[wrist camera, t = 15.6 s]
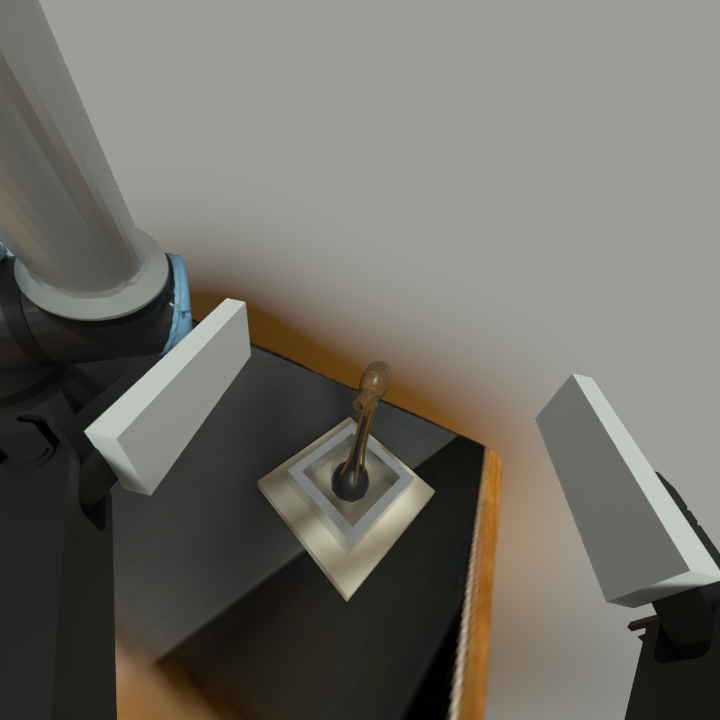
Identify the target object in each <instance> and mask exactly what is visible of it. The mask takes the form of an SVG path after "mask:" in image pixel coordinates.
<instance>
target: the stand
mask: <svg viewBox="0 0 720 720" xmlns="http://www.w3.org/2000/svg"><path fill="white" fill-rule="evenodd" d="M351 423H353V424H354V425H355V426H356V427H357V426H358V424H357V423H356V422H355V421H354V420H353V419H352V418H350V417H349V418H347V419H346V420H344V421H343V422H342V423H340V424H339V425H337V426H336V427H334V428H333V429H332V430H330V431H329V432H327V433H326V434H324V435H323V436H322V437H320V438H319V439H317V440H316V441H314V442H313V443H312V444H310V445H309V446H307V447H306V448H304V449H303V450H302V451H300V452H299V453H297V454H296V455H294V456H293V457H292V458H290V459H289V460H287V461H286V462H285V463H283V464H282V465H280V466H279V467H277V468H276V469H275V470H273V471H272V472H270V473H269V474H267V475H266V476H265V477H263V478H262V479H260V480H259V481H257V482H258V488H259V489H260V491H261V492H262V493H263V495H264V496H265V497H266V498H267V500H268V501H269V502H270V504H271V505H272V506H273V507H274V509H275V510H276V511H277V513H278V514H279V515H280V516H281V518H282V519H283V520H284V522H285V523H286V524H287V525H288V527H289V528H290V529H291V531H292V532H293V533H294V534H295V536H296V537H297V538H298V540H299V541H300V542H301V544H302V545H303V546H304V547H305V549H306V550H307V551H308V553H309V554H310V555H311V556H312V558H313V559H314V560H315V562H316V563H317V564H318V565H319V567H320V568H321V569H322V571H323V572H324V573H325V574H326V576H327V577H328V578H329V580H330V581H331V582H332V583H333V585H334V586H335V587H336V589H337V590H338V591H339V592H340V594H341V595H342V596H343V598H344V599H345V600H346V601H348V600H349V598H350V597H351V596H352V595H353V594H354V592H355V591H356V590H357V589H358V587H359V586H360V585H361V584H362V582H363V581H364V580H365V579H366V577H367V576H368V575H369V574H370V573H371V571H372V570H373V569H374V568H375V566H376V565H377V564H378V563H379V561H380V560H381V559H382V558H383V556H384V555H385V554H386V553H387V552H388V550H389V549H390V548H391V547H392V545H393V544H394V543H395V542H396V540H397V539H398V538H399V537H400V535H401V534H402V533H403V532H404V531H405V529H406V528H407V527H408V526H409V524H410V523H411V522H412V521H413V519H414V518H415V517H416V516H417V514H418V513H419V512H420V511H421V510H422V508H423V507H424V506H425V505H426V503H427V502H428V501H429V500H430V498H431V497H432V496H433V494H434V492H435V491H434V490H433V489H432V488H431V487H430V486H429V485H427V484H426V483H425V482H424V481H423V480H422V479H421V478H419V477H418V476H417V475H416V474H415V473H414V472H413V471H411V470H410V469H409V468H408V467H407V466H406V465H404V464H403V463H402V462H401V461H400V460H399V459H398V458H396V457H395V456H394V455H393V454H392V453H391V452H390V451H388V450H387V449H386V448H385V447H384V446H383V445H381V444H380V443H379V442H378V441H377V440H376V439H375V438H373V437H372V436H371V435H370V434H369V438H370V439H371V440H372V441H373V442H374V443H376V444H377V445H378V446H379V447H380V448H381V449H382V450H384V451H385V452H386V453H387V454H388V455H389V456H390V457H392V458H393V459H394V460H395V461H396V462H397V463H398V464H400V465H401V466H402V467H403V468H404V469H405V470H406V471H407V472H409V473H410V474H411V475H412V476H413V477H414V480H413V482H412V484H411V486H410V488H409V490H408V491H407V492H406V493H405V494H404V495H403V496H402V497H401V499H400V500H399V501H398V502H397V503H396V504H395V505H394V506H393V507H392V508H391V510H390V511H389V512H388V513H387V514H386V515H385V516H384V517H383V518H382V520H381V521H380V522H379V523H378V524H377V525H376V526H375V527H374V528H373V530H372V531H371V532H370V533H369V534H368V535H367V536H366V537H365V538H364V540H363V541H362V542H361V543H360V544H359V545H358V546H357V547H356V548H355V549H354V551H353V552H352V553H351V554H350V555H348V554H347V553H346V552H345V551H344V549H343V548H342V547H341V546H340V545H339V544H338V542H337V541H336V540H335V539H334V538H333V536H332V535H331V534H330V533H329V532H328V531H327V529H326V528H325V527H324V526H323V525H322V523H321V522H320V521H319V520H318V519H317V518H316V516H315V515H314V514H313V513H312V512H311V510H310V509H309V508H308V507H307V506H306V505H305V503H304V502H303V501H302V500H301V499H300V498H299V496H298V495H297V494H296V493H295V492H294V490H293V489H292V488H291V487H290V486H289V485H288V483H287V470H288V469H289V468H291V467H292V466H294V465H295V464H296V463H298V462H299V461H301V460H302V459H303V458H305V457H306V456H307V455H309V454H310V453H312V452H313V451H314V450H316V449H317V448H318V447H320V446H321V445H323V444H324V443H325V442H327V441H328V440H329V439H331V438H332V437H334V436H335V435H336V434H338V433H339V432H340V431H342V430H343V429H345V428H346V427H347V426H349V425H350V424H351ZM350 451H351V447H350V446H349V447H347V448H346V449H345V450H344V451H342V452H341V453H340V454H339V455H337V456H336V457H335V458H334V459H332V460H331V461H330V462H328V463H327V464H326V465H325V466H323V467H322V468H321V469H320V470H318V471H317V472H316V473H314V474H313V475H312V476H311V477H309V479H310V480H311V482H312V483H313V484H314V485H315V486H316V487H317V488H318V489H319V490H320V492H321V493H322V494H323V495H324V496H325V497H326V498H327V499H328V500H329V502H330V503H331V504H332V505H333V506H334V507H335V508H336V509H337V510H338V511H339V513H340V514H341V515H342V516H343V517H344V518H345V519H346V520H347V521H348V523H349V524H350V525H351V526H352V527H353V526H354V525H355V524H356V523H357V522H358V521H359V520H360V519H361V518H362V517H363V516H364V515H365V514H366V513H367V512H368V511H369V509H370V508H371V507H372V506H373V505H374V504H375V503H376V502H377V501H378V500H379V499H380V498H381V497H382V496H383V495H384V494H385V493H386V492H387V491H388V490H389V489H390V488H391V487H392V485H391V484H390V483H389V482H388V481H386V480H385V479H384V478H383V477H382V476H381V475H380V474H379V473H378V472H377V471H376V470H375V469H374V468H373V467H371V466H370V465H369V464H368V463H367V462H366V461H365V468H366V470H367V472H368V478H369V487H368V489H367V491H366V493H365V495H364V497H363V498H362V499H359V500H357V501H355V502H348V501H344V500H340V499H339V498H338V497H337V496H336V494H335V493H334V492H333V491H332V484H331V477H332V475H333V473H334V471H335V470H336V468H337V467H338V465H339V464H341V463H343V462H346V461H347V459H348V457H349V454H350ZM360 463H361V464H362V457H361V460H360Z"/></svg>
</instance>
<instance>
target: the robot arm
mask: <svg viewBox="0 0 720 720" xmlns="http://www.w3.org/2000/svg"><path fill="white" fill-rule="evenodd" d="M0 242H1V243H2V244H3V245H4V246H5V247H6V248H7V249H8V250H9V251H10V252H11V253H12V254H13V255H14V256H8V255H7V250H6V248H5V247H4V246H2V245H1V244H0V720H117V708H116V664H115V621H114V577H113V533H112V496H111V493H110V488H111V487H112V486H113V485H114V484H115V482H116V481H117V480H118V481H119V482H120V483H121V485H122V486H123V488H124V489H125V490H128V491H132V492H137V493H141V494H145V495H150V496H151V495H152V493H153V492H154V490H155V489H156V488H157V486H158V485H159V483H160V482H161V481H162V479H163V478H164V476H165V475H166V474H167V472H168V471H169V469H170V468H171V467H172V465H173V464H174V462H175V461H176V460H177V458H178V457H179V455H180V454H181V453H182V451H183V450H184V448H185V447H186V446H187V444H188V443H189V441H190V440H191V439H192V437H193V436H194V434H195V433H196V432H197V430H198V429H199V427H200V426H201V425H202V423H203V422H204V420H205V419H206V417H207V416H208V415H209V413H210V412H211V410H212V409H213V408H214V406H215V405H216V403H217V402H218V401H219V399H220V398H221V396H222V395H223V394H224V392H225V391H226V389H227V388H228V387H229V385H230V384H231V382H232V381H233V380H234V378H235V377H236V375H237V374H238V373H239V371H240V370H241V368H242V367H243V366H244V364H245V363H246V361H247V360H248V359H249V357H250V356H251V352H250V342H249V332H248V322H247V313H246V303H245V302H242V301H237V300H233V299H229V298H227V299H225V300H224V301H223V302H222V303H221V304H220V305H219V306H218V307H217V308H216V309H215V310H214V311H213V312H212V313H210V314H209V315H208V316H207V317H206V318H205V319H204V320H203V321H202V322H201V323H200V324H199V325H198V326H196V327H195V328H194V329H193V326H192V317H191V307H190V304H191V303H190V294H189V286H188V278H187V271H186V265H185V262H184V259H183V258H181V257H180V256H178V255H172V254H170V253H164V252H163V250H162V248H161V246H160V245H159V244H158V243H157V241H155V240H154V239H153V238H152V237H151V236H150V235H148V234H147V233H146V232H144V231H142V230H141V229H139V228H137V227H135V225H134V222H133V220H132V218H131V215H130V213H129V211H128V208H127V206H126V204H125V201H124V199H123V197H122V194H121V192H120V190H119V187H118V185H117V183H116V180H115V178H114V176H113V174H112V171H111V169H110V167H109V164H108V162H107V160H106V157H105V155H104V153H103V150H102V148H101V146H100V143H99V141H98V139H97V136H96V134H95V132H94V129H93V127H92V124H91V122H90V120H89V117H88V115H87V113H86V110H85V108H84V106H83V103H82V101H81V99H80V97H79V94H78V92H77V89H76V87H75V85H74V82H73V80H72V78H71V75H70V73H69V71H68V69H67V66H66V64H65V62H64V59H63V57H62V54H61V52H60V50H59V47H58V45H57V43H56V40H55V38H54V36H53V33H52V31H51V29H50V26H49V24H48V22H47V19H46V17H45V15H44V12H43V10H42V8H41V5H40V3H39V1H38V0H0ZM168 352H169V353H168ZM166 353H168V354H166ZM153 354H157V355H164V354H166V355H165V356H164V357H163V358H162V359H161V360H160V361H155V360H150V359H147V360H145V361H143V362H141V363H139V364H137V365H135V366H133V367H131V368H130V369H129V370H127V371H126V372H125V373H124V374H123V375H122V376H120V377H119V378H118V379H117V382H114V383H112V384H111V385H110V386H109V387H108V388H107V389H106V391H105V389H104V388H103V386H102V385H101V384H100V383H99V382H98V381H96V380H95V379H94V378H92V377H91V376H90V375H88V374H87V373H86V372H84V371H83V370H82V369H80V368H79V367H77V366H76V365H75V364H78V363H86V362H95V361H103V360H111V359H120V358H128V357H136V356H145V355H153ZM535 419H536V422H537V424H538V427H539V430H540V432H541V435H542V437H543V440H544V442H545V445H546V447H547V450H548V453H549V455H550V458H551V461H552V463H553V466H554V468H555V471H556V474H557V476H558V479H559V481H560V484H561V486H562V489H563V492H564V494H565V497H566V499H567V502H568V505H569V507H570V509H571V512H572V515H573V517H574V520H575V522H576V525H577V528H578V530H579V533H580V536H581V538H582V541H583V543H584V546H585V548H586V551H587V553H588V556H589V559H590V561H591V564H592V567H593V569H594V572H595V574H596V577H597V579H598V582H599V584H600V587H601V590H602V592H603V595H604V598H605V600H606V602H609V603H613V604H617V605H622V606H626V607H630V608H636V607H639V606H642V605H645V604H649V603H652V605H653V607H654V609H655V611H656V613H657V615H653V616H650V617H646V618H643V619H640V620H636V621H632V622H630V624H629V625H628V628H629V629H630V630H631V631H634V630H638V629H642V628H646V631H645V634H643V635H640V636H638V638H639V639H641V640H642V641H643V644H642V648H641V653H640V657H639V661H638V665H637V669H636V673H635V678H634V682H633V686H632V690H631V695H630V699H629V703H628V707H627V711H626V715H625V720H720V553H719V552H718V550H717V549H716V547H715V546H714V545H713V543H712V542H711V540H710V539H709V537H708V536H707V534H706V533H705V532H704V530H703V529H702V527H701V526H699V525H698V524H697V520H696V519H695V517H694V516H693V514H692V513H691V511H689V510H687V506H686V504H685V503H684V501H683V500H682V498H681V497H680V495H679V494H678V493H677V491H676V490H675V489H674V488H673V487H672V486H671V485H670V484H669V483H668V482H667V481H666V480H665V479H664V478H663V477H662V476H661V475H660V474H659V473H658V472H655V471H653V469H652V468H651V466H650V465H649V463H648V462H647V460H646V459H645V457H644V456H643V454H642V453H641V451H640V450H639V448H638V447H637V445H636V444H635V442H634V441H633V439H632V438H631V436H630V435H629V433H628V432H627V430H626V429H625V427H624V426H623V424H622V423H621V421H620V420H619V418H618V417H617V415H616V414H615V412H614V411H613V409H612V408H611V406H610V405H609V403H608V402H607V400H606V399H605V397H604V396H603V394H602V393H601V391H600V390H599V388H598V387H597V385H596V383H595V382H594V381H593V379H592V378H590V377H585V376H581V375H576V374H572V375H571V376H570V377H569V378H568V379H567V381H566V382H565V383H564V384H563V386H562V387H561V388H560V389H559V390H558V392H557V393H556V394H555V395H554V396H553V398H552V399H551V400H550V401H549V403H548V404H547V405H546V406H545V407H544V408H543V410H542V411H541V412H540V413H539V415H538V416H537V417H536V418H535Z"/></svg>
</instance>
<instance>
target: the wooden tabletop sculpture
mask: <svg viewBox="0 0 720 720" xmlns="http://www.w3.org/2000/svg"><path fill="white" fill-rule="evenodd" d="M391 378H392V372H391V368H390V366H389V365H388V364H387V363H386V362H383V361H375V362H373V363H371V364H370V365H369V366H368V367H367V368H366V370H365V371H364V373H363V374H362V376H361V380H360V384H359V392H360V394H359V396H358V397H357V398H356V400H355V401H354V402H353V406H354V408H355V409H356V410H358V411H361V413H360V417H359V422H358V426H357V430H356V434H355V438H354V442H353V445H352V448H351V451H350V454H349V457H348V459H347V461H346V462H343V463H341V464H339V465H338V467H337V468H336V470H335V471H334V473H333V475H332V477H331V484H332V491H333V492H334V493H335V494H336V496H337V497H338V498H339V499H340V500H344V501H348V502H355V501H357V500H359V499H362V498H363V497H364V495H365V493H366V491H367V489H368V487H369V478H368V472H367V470H366V468H365V453H366V447H367V442H368V438H369V434H370V430H371V426H372V422H373V419H374V415H375V411H376V408H377V406H378V403H377V401H378V400H380V399H381V398H382V397H383V396H384V395H385V393H386V392H387V389H388V388H389V386H390V382H391ZM362 451H363V453H362ZM361 456H362V464H361V463H360V460H361Z"/></svg>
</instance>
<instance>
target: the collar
mask: <svg viewBox="0 0 720 720" xmlns="http://www.w3.org/2000/svg"><path fill="white" fill-rule="evenodd" d="M356 430H357V427H356V426H355V425H354V424H353V423H351V424H350V425H349V426H347V427H346V428H345V429H343V430H342V431H340V432H339V433H338V434H336V435H335V436H334V437H332V438H331V439H329V440H328V441H327V442H325V443H324V444H323V445H321V446H320V447H318V448H317V449H316V450H314V451H313V452H312V453H310V454H309V455H307V456H306V457H305V458H303V459H302V460H301V461H299V462H298V463H296V464H295V465H294V466H292V467H291V468H289V469H288V470H287V483H288V485H289V486H290V487H291V488H292V489H293V490H294V492H295V493H296V494H297V495H298V496H299V498H300V499H301V500H302V501H303V502H304V503H305V505H306V506H307V507H308V508H309V509H310V510H311V512H312V513H313V514H314V515H315V516H316V518H317V519H318V520H319V521H320V522H321V523H322V525H323V526H324V527H325V528H326V529H327V531H328V532H329V533H330V534H331V535H332V536H333V538H334V539H335V540H336V541H337V542H338V544H339V545H340V546H341V547H342V548H343V549H344V551H345V552H346V553H347V554H348V555H350V554H351V553H352V552H353V551H354V549H355V548H356V547H357V546H358V545H359V544H360V543H361V542H362V541H363V540H364V538H365V537H366V536H367V535H368V534H369V533H370V532H371V531H372V530H373V528H374V527H375V526H376V525H377V524H378V523H379V522H380V521H381V520H382V518H383V517H384V516H385V515H386V514H387V513H388V512H389V511H390V510H391V508H392V507H393V506H394V505H395V504H396V503H397V502H398V501H399V500H400V499H401V497H402V496H403V495H404V494H405V493H406V492H407V491H408V490H409V488H410V486H411V484H412V482H413V480H414V477H413V476H412V475H411V474H410V473H409V472H407V471H406V470H405V469H404V468H403V467H402V466H401V465H400V464H398V463H397V462H396V461H395V460H394V459H393V458H392V457H390V456H389V455H388V454H387V453H386V452H385V451H384V450H382V449H381V448H380V447H379V446H378V445H377V444H376V443H374V442H373V441H372V440H371V439H370V438H368V442H367V447H366V453H365V461H366V462H367V463H368V464H369V465H370V466H371V467H373V468H374V469H375V470H376V471H377V472H378V473H379V474H380V475H381V476H382V477H383V478H384V479H385V480H386V481H388V482H389V483H390V484H391V485H392V487H391V488H390V489H389V490H388V491H387V492H386V493H385V494H384V495H383V496H382V497H381V498H380V499H379V500H378V501H377V502H376V503H375V504H374V505H373V506H372V507H371V508H370V509H369V511H368V512H367V513H366V514H365V515H364V516H363V517H362V518H361V519H360V520H359V521H358V522H357V523H356V524H355V525H354V526H353V527H352V526H351V525H350V524H349V523H348V521H347V520H346V519H345V518H344V517H343V516H342V515H341V514H340V513H339V511H338V510H337V509H336V508H335V507H334V506H333V505H332V504H331V503H330V502H329V500H328V499H327V498H326V497H325V496H324V495H323V494H322V493H321V492H320V490H319V489H318V488H317V487H316V486H315V485H314V484H313V483H312V482H311V480H310V479H309V477H311V476H312V475H313V474H314V473H316V472H317V471H318V470H320V469H321V468H322V467H323V466H325V465H326V464H327V463H328V462H330V461H331V460H332V459H334V458H335V457H336V456H337V455H339V454H340V453H341V452H342V451H344V450H345V449H346V448H347V447H349V446H350V447H351V448H352V445H353V442H354V438H355V434H356ZM362 453H363V451H362ZM361 457H362V456H361Z"/></svg>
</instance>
